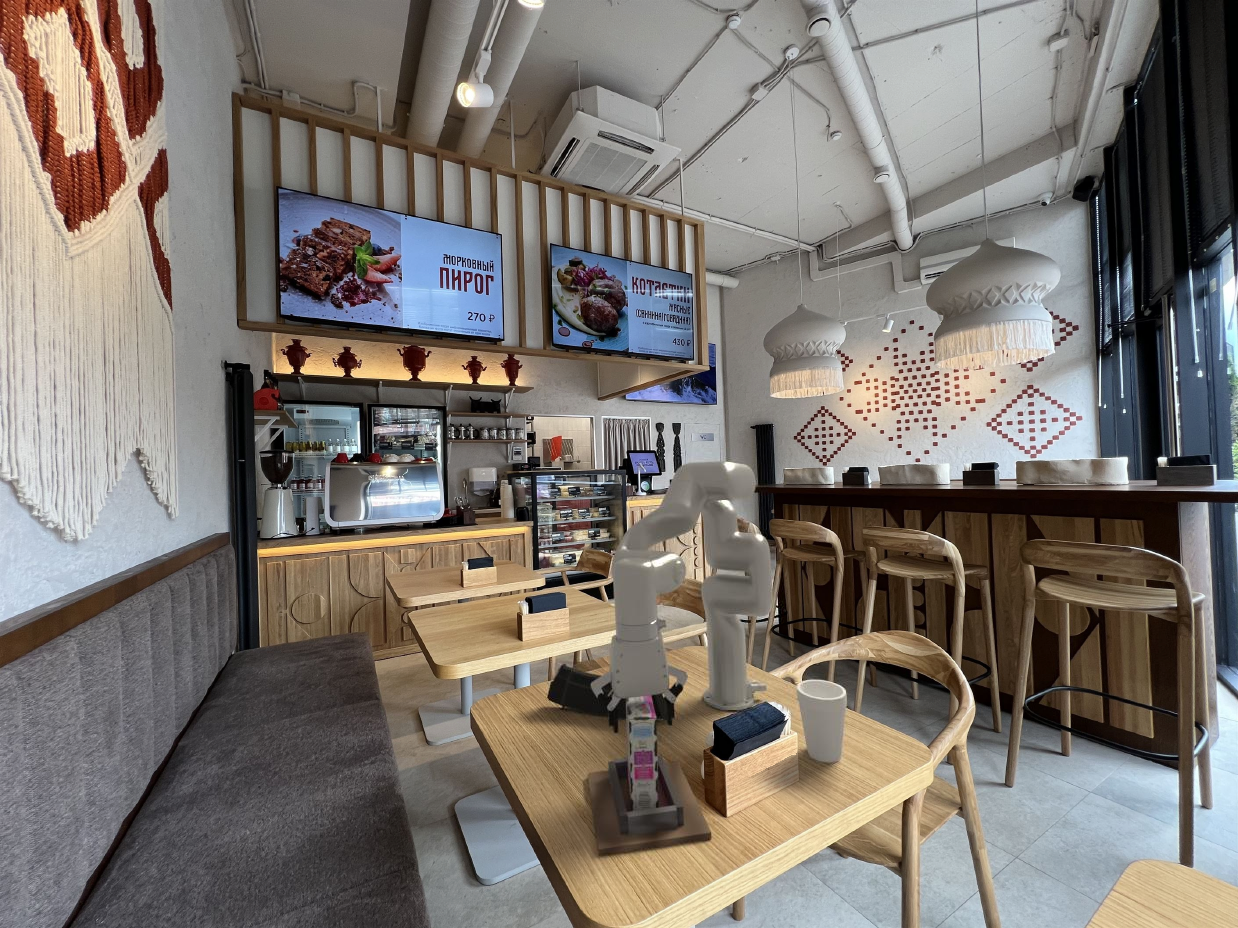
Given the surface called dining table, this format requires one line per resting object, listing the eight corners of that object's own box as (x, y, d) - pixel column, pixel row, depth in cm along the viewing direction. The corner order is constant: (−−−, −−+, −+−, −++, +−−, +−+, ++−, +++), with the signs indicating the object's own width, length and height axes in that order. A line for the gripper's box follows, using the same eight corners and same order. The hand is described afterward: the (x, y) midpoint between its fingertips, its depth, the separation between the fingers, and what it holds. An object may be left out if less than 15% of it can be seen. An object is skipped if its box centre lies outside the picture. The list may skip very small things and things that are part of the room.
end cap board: (678, 766, 99) (677, 745, 99) (711, 838, 80) (710, 813, 80) (587, 778, 97) (586, 757, 97) (598, 855, 77) (597, 829, 77)
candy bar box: (661, 816, 84) (657, 717, 84) (631, 818, 83) (627, 719, 84) (654, 776, 95) (650, 688, 95) (627, 777, 95) (624, 690, 95)
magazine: (677, 681, 118) (565, 636, 128) (674, 687, 115) (559, 640, 125) (659, 749, 119) (550, 698, 129) (656, 756, 116) (544, 704, 126)
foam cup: (792, 743, 106) (789, 681, 106) (833, 739, 107) (830, 677, 107) (813, 769, 97) (810, 701, 97) (859, 764, 98) (855, 697, 98)
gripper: (678, 618, 94) (683, 709, 94) (586, 627, 91) (591, 721, 91) (690, 631, 86) (695, 730, 86) (590, 641, 84) (595, 743, 84)
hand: (642, 725), depth 89 cm, fingers open, 9 cm apart
